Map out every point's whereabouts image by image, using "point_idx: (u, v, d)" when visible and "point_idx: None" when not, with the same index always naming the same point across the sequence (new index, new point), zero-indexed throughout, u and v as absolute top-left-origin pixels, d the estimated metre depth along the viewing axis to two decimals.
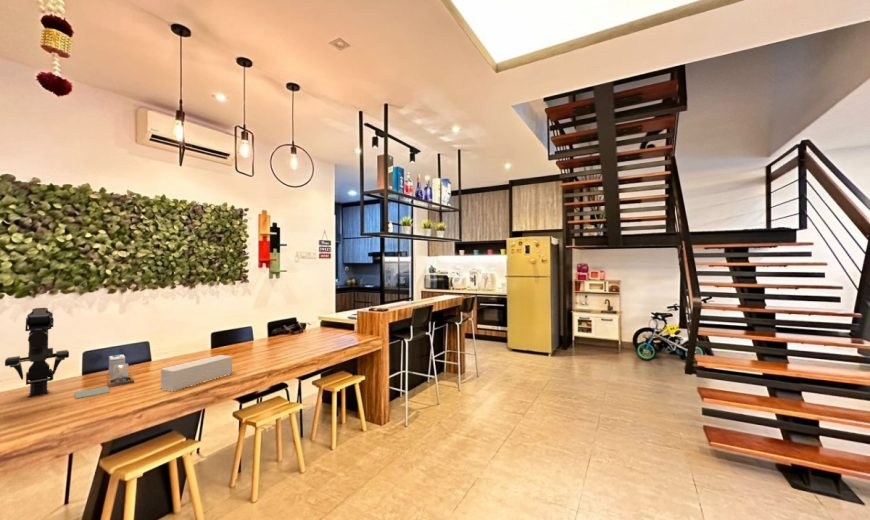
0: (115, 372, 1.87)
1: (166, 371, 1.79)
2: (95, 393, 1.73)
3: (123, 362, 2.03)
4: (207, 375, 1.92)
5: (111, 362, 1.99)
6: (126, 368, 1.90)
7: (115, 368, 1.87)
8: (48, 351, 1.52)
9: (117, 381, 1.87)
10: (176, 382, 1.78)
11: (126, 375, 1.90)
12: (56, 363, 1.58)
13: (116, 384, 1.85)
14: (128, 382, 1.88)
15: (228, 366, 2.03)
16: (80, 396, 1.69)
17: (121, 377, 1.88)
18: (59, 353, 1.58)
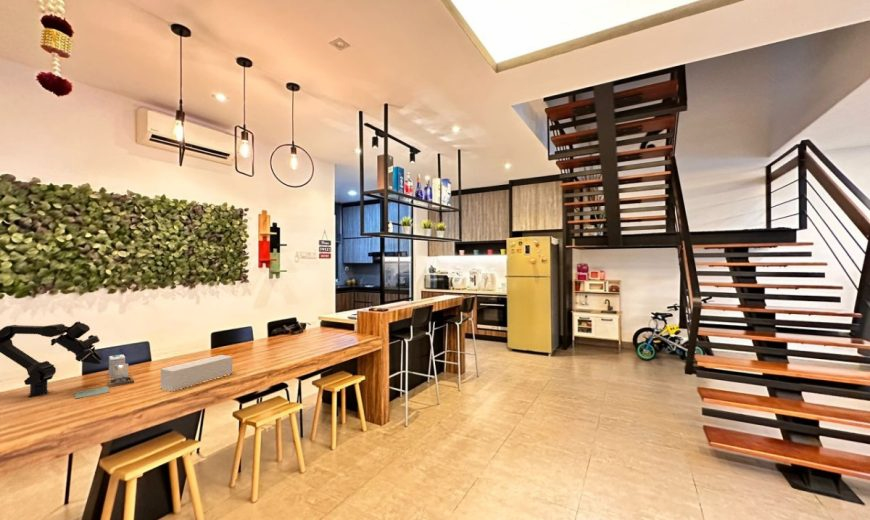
0: (115, 372, 1.87)
1: (166, 371, 1.79)
2: (95, 393, 1.73)
3: (123, 362, 2.03)
4: (207, 375, 1.92)
5: (111, 362, 1.99)
6: (126, 368, 1.90)
7: (115, 368, 1.87)
8: None
9: (117, 381, 1.87)
10: (176, 382, 1.78)
11: (126, 375, 1.90)
12: None
13: (116, 384, 1.85)
14: (128, 382, 1.88)
15: (228, 366, 2.03)
16: (80, 396, 1.69)
17: (121, 377, 1.88)
18: None
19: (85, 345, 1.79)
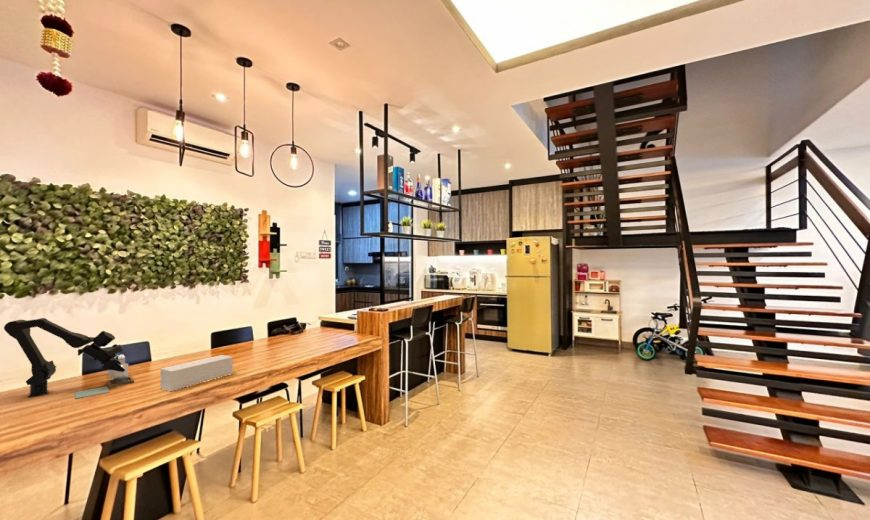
0: (115, 372, 1.87)
1: (165, 371, 1.79)
2: (95, 393, 1.73)
3: (123, 362, 2.03)
4: (206, 375, 1.92)
5: None
6: (126, 368, 1.90)
7: None
8: (116, 345, 1.91)
9: (117, 381, 1.87)
10: (175, 382, 1.78)
11: (126, 375, 1.90)
12: (118, 360, 1.92)
13: (116, 384, 1.85)
14: (128, 382, 1.88)
15: (228, 366, 2.03)
16: (80, 396, 1.69)
17: (121, 377, 1.88)
18: None
19: (110, 354, 1.85)
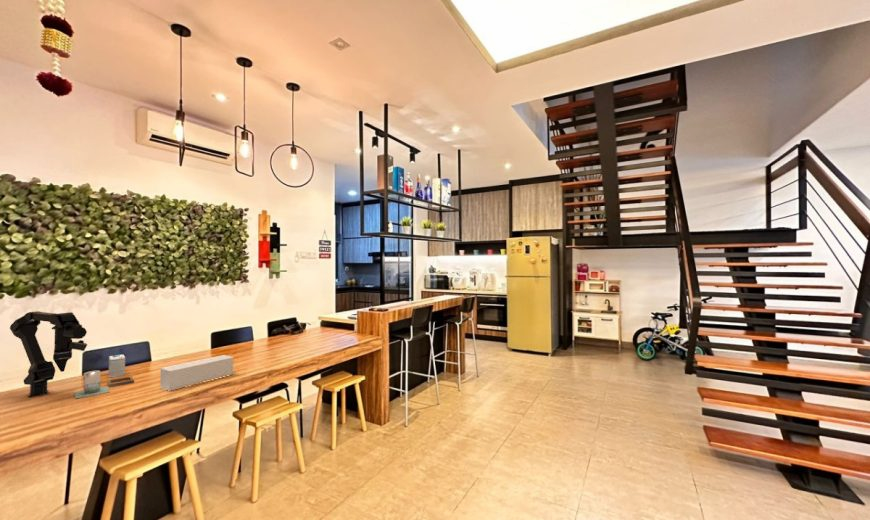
0: (84, 380, 1.73)
1: (164, 370, 1.80)
2: (95, 393, 1.73)
3: (123, 362, 2.03)
4: (206, 375, 1.91)
5: (111, 362, 1.99)
6: (95, 376, 1.74)
7: (84, 375, 1.73)
8: (83, 342, 1.79)
9: (85, 390, 1.72)
10: (173, 382, 1.78)
11: (95, 384, 1.74)
12: None
13: (116, 384, 1.85)
14: (128, 382, 1.88)
15: (229, 367, 2.02)
16: (80, 396, 1.69)
17: (88, 386, 1.72)
18: None
19: (71, 347, 1.72)
